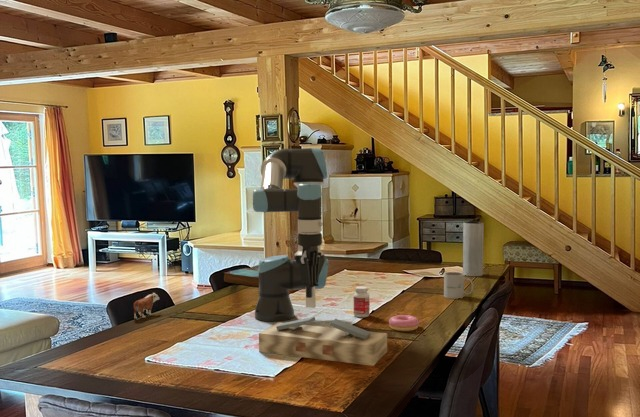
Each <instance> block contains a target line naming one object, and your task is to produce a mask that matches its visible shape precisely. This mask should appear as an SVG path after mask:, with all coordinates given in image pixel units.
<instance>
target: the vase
mask: <svg viewBox="0 0 640 417" xmlns="http://www.w3.org/2000/svg"><path fill="white" fill-rule="evenodd" d="M462 224H463V225H462V227H463V228H462V230H463V231H462V233H463V234H462V273H464V276H465V275H466V276H465V277H482V276H483V275H484V230H485V229H484V222H483V221H476V220H474V221H470V220H469V221H464V222H463V223H462Z"/></svg>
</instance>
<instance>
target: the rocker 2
mask: <svg viewBox="0 0 640 417" xmlns="http://www.w3.org/2000/svg"><path fill="white" fill-rule="evenodd" d="M329 326H330V327H331V328H337V329H339V330H342V331H344V332H346V333H345V335H349V334H352V335H355V336H357V337H360V338H362V339H365V340H366V339H367V338H368V337H369V336H370V333H371V332H372V331H368V330H366V329H363V328H361V327H359V326H355V325H354V324H351V323H348V322H345V321H343V320H340V319H338V318H335V319H334V320H331V321H330V323H329Z"/></svg>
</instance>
